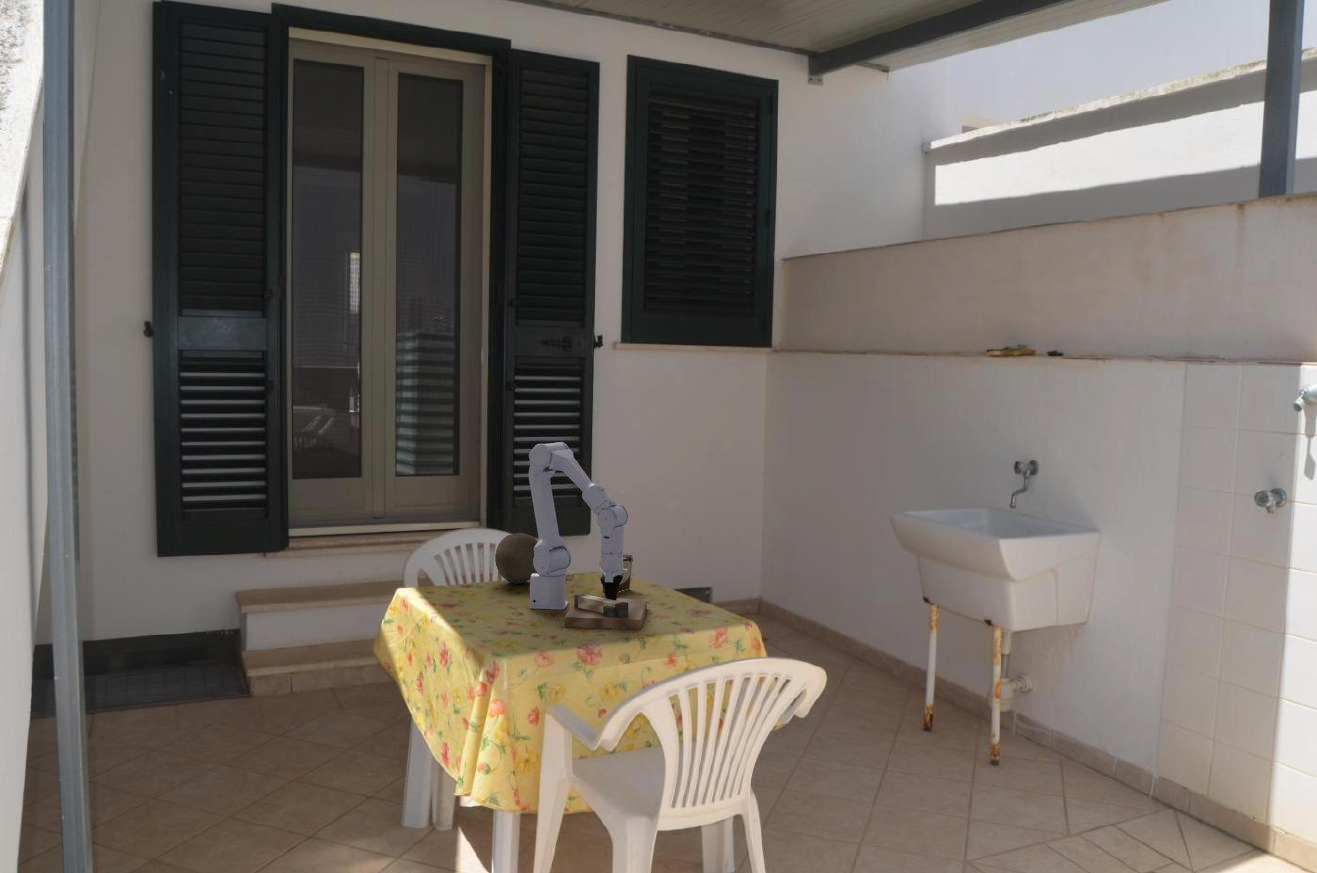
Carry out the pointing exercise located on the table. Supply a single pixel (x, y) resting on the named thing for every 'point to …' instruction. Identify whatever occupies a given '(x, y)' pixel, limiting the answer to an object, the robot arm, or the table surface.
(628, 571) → the food container
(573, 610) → the stool seat
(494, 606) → the table surface
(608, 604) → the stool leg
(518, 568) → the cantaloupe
